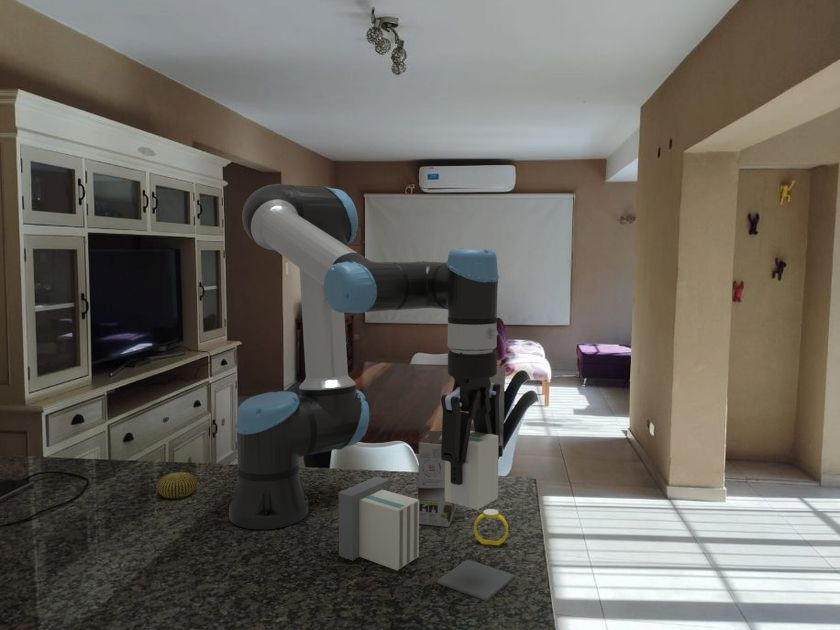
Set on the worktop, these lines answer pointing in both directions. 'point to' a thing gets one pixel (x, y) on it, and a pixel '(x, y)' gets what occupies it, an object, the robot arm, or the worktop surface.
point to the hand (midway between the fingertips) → (471, 496)
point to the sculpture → (177, 485)
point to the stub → (479, 470)
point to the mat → (476, 579)
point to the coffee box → (433, 483)
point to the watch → (491, 514)
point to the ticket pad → (378, 524)
